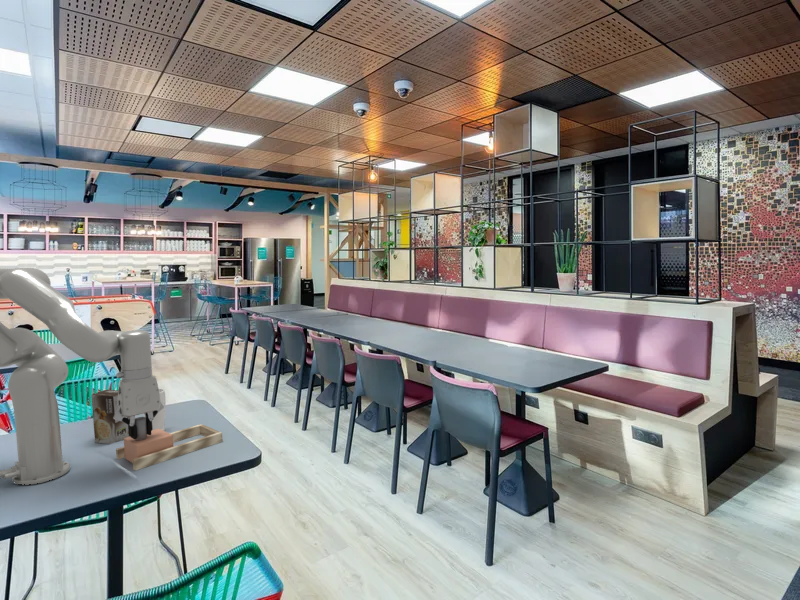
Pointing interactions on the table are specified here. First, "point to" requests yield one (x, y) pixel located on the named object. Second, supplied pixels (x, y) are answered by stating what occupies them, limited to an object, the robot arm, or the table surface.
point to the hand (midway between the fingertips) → (140, 435)
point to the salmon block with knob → (146, 441)
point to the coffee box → (107, 418)
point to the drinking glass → (160, 413)
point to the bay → (166, 454)
